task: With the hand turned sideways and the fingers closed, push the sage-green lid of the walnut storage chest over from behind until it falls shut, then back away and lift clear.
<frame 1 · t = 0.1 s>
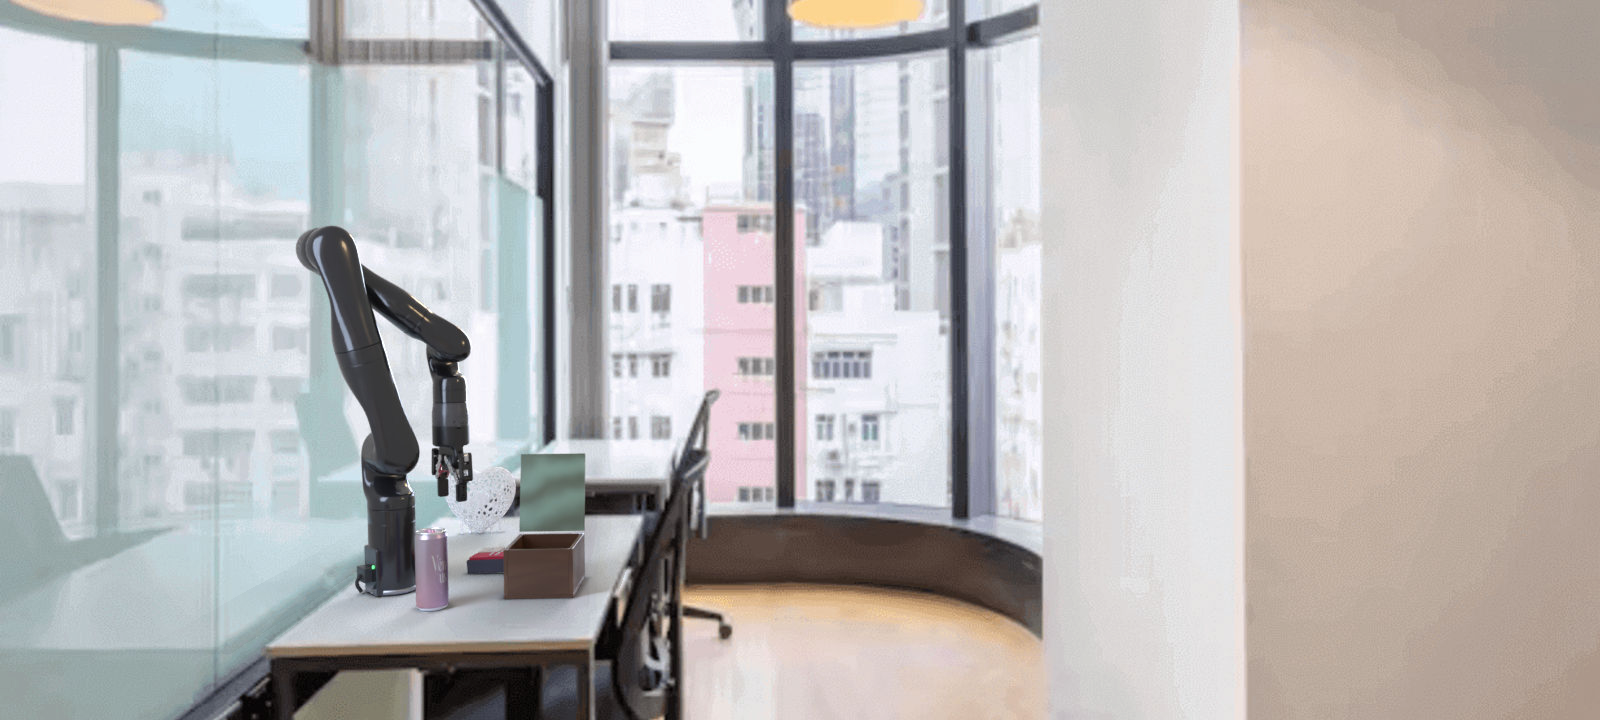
hand: (452, 498, 228), 17 cm above the table, tool pointing down, fingers open, 8 cm apart
decorative heart: (481, 533, 276), on the table
chest: (546, 588, 220), on the table
beverage can: (432, 608, 206), on the table
calculator: (508, 569, 237), on the table
lid: (552, 492, 229), point 18 cm above the table, hinge at 100.6°
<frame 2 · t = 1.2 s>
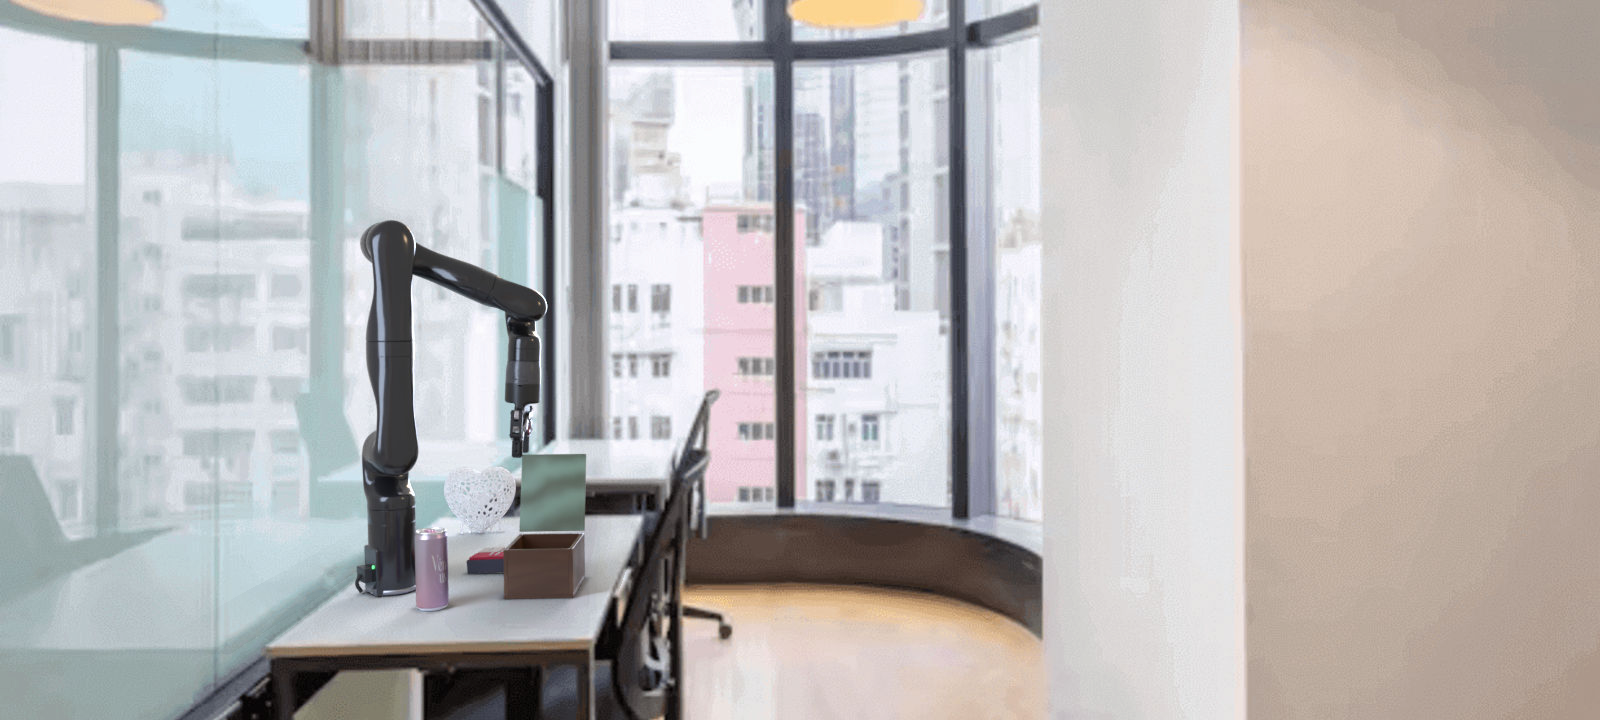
hand: (520, 455, 235), 26 cm above the table, tool pointing down, fingers open, 8 cm apart
lid: (553, 492, 229), point 18 cm above the table, hinge at 105.3°, touching gripper
everything else where it was.
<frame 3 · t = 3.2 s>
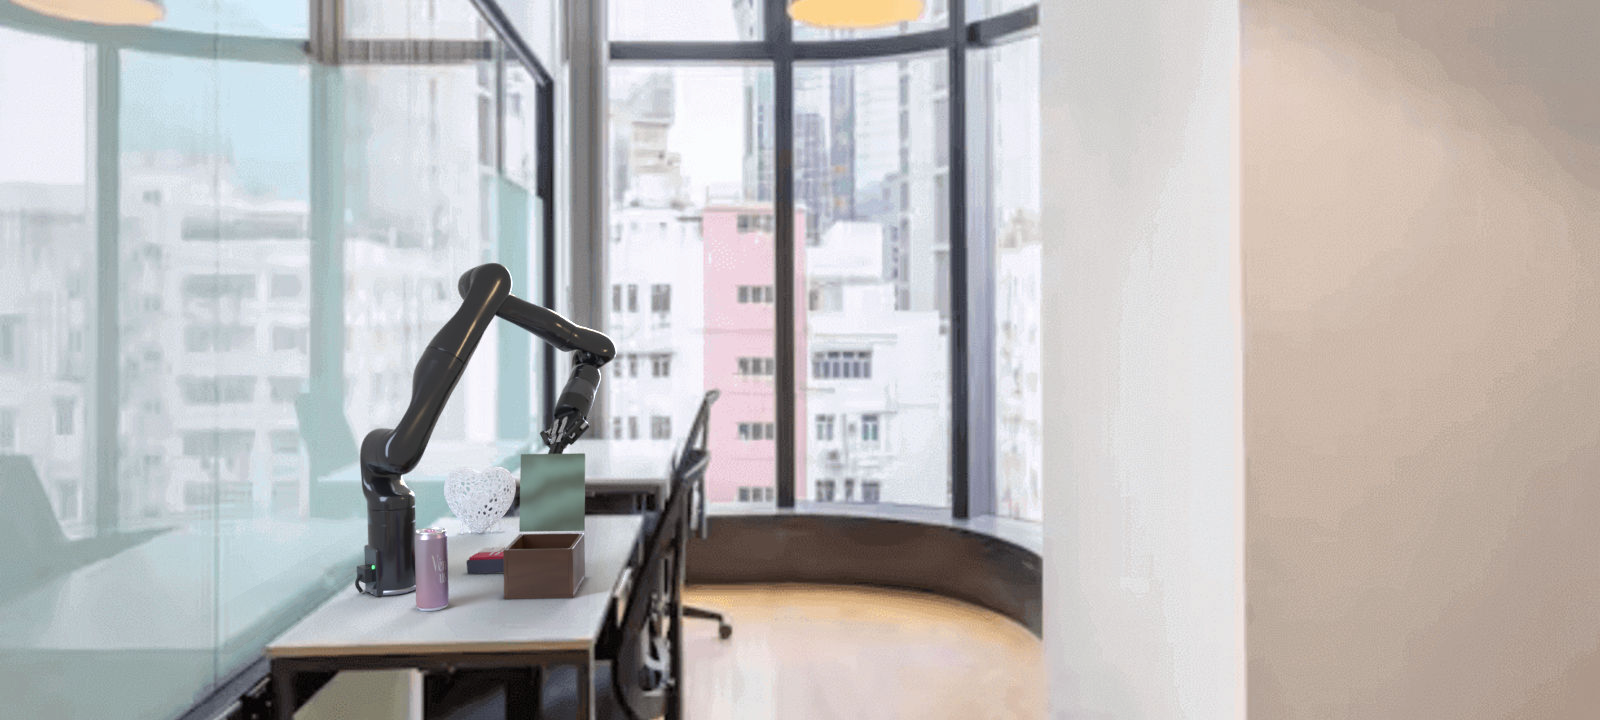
hand: (552, 459, 231), 25 cm above the table, tool tilted 50°, fingers closed
lid: (552, 492, 228), point 18 cm above the table, hinge at 99.9°
everything else where it was.
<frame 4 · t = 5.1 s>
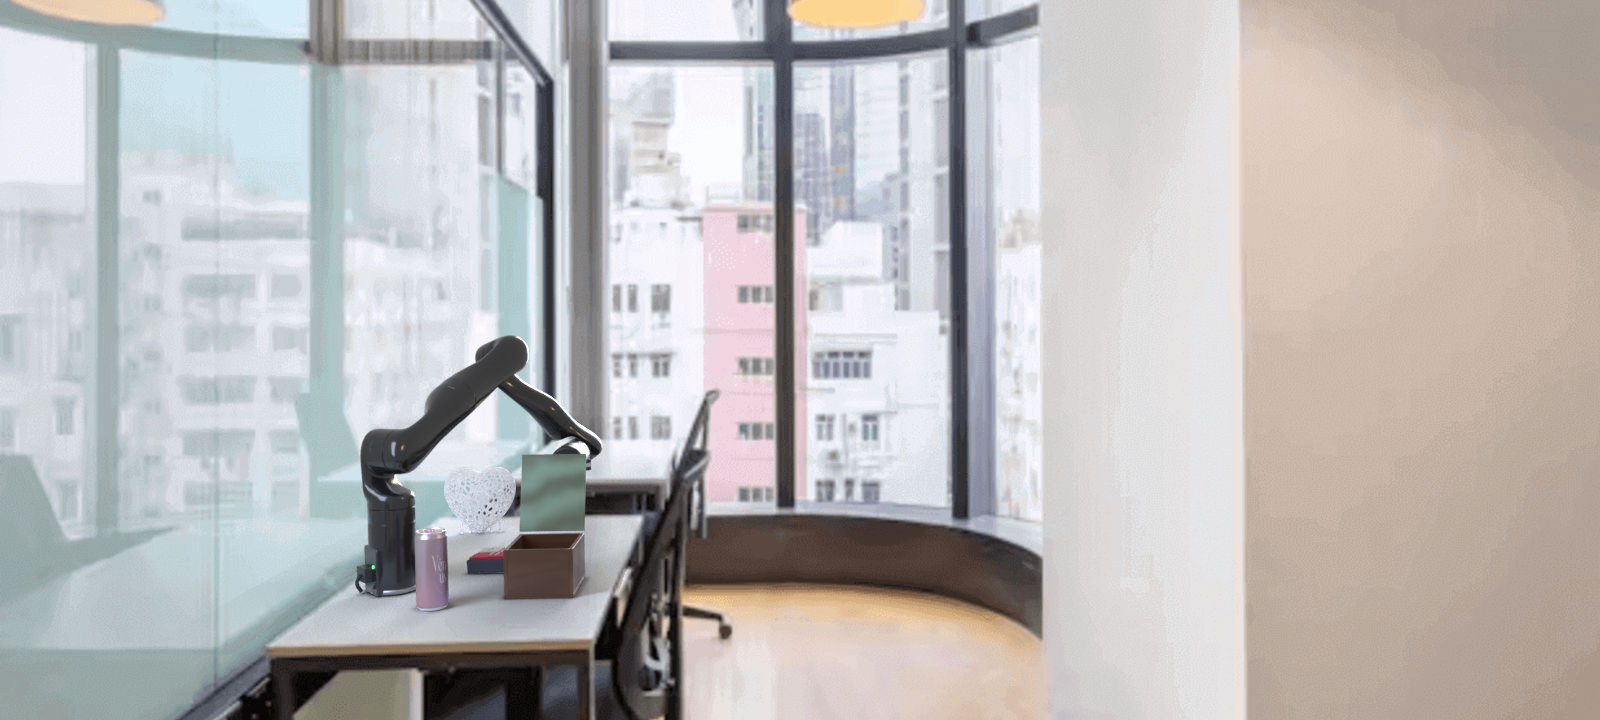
hand: (557, 470, 234), 22 cm above the table, tool horizontal, fingers closed
lid: (553, 492, 229), point 18 cm above the table, hinge at 105.1°
everything else where it was.
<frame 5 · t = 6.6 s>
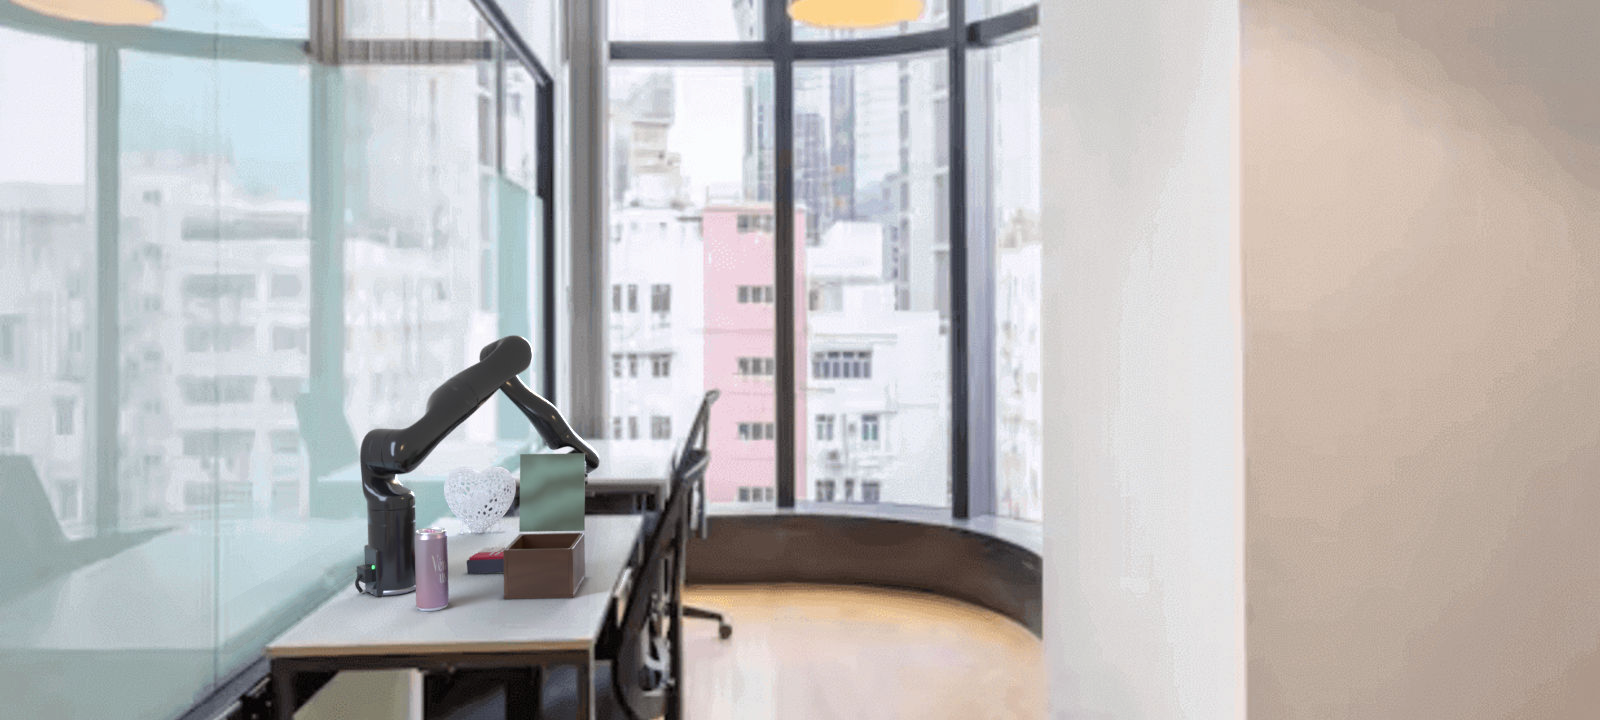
hand: (552, 485, 229), 20 cm above the table, tool horizontal, fingers closed
lid: (552, 492, 228), point 18 cm above the table, hinge at 98.1°, touching gripper
everything else where it was.
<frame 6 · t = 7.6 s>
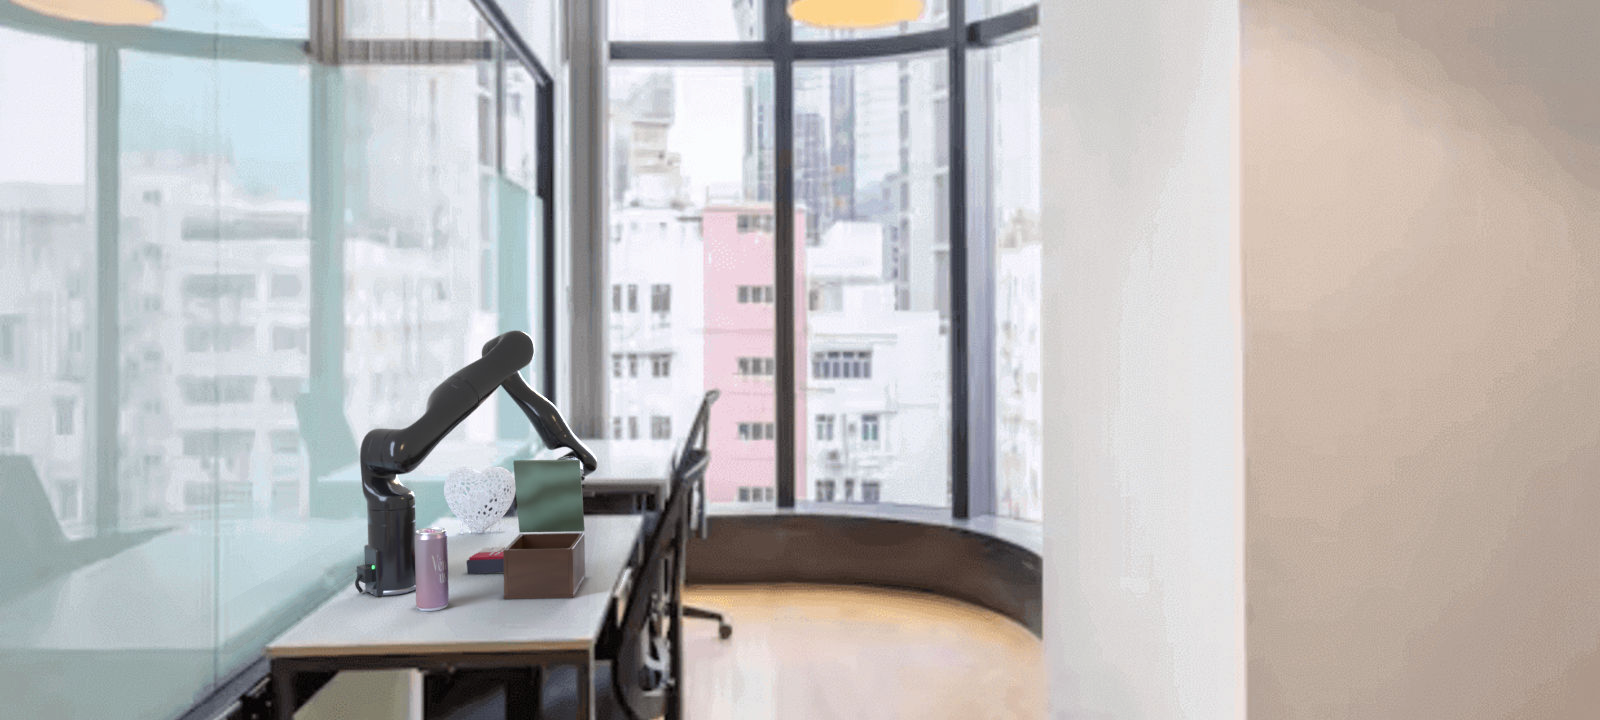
hand: (549, 488, 225), 20 cm above the table, tool horizontal, fingers closed
lid: (549, 496, 225), point 18 cm above the table, hinge at 73.6°
everything else where it was.
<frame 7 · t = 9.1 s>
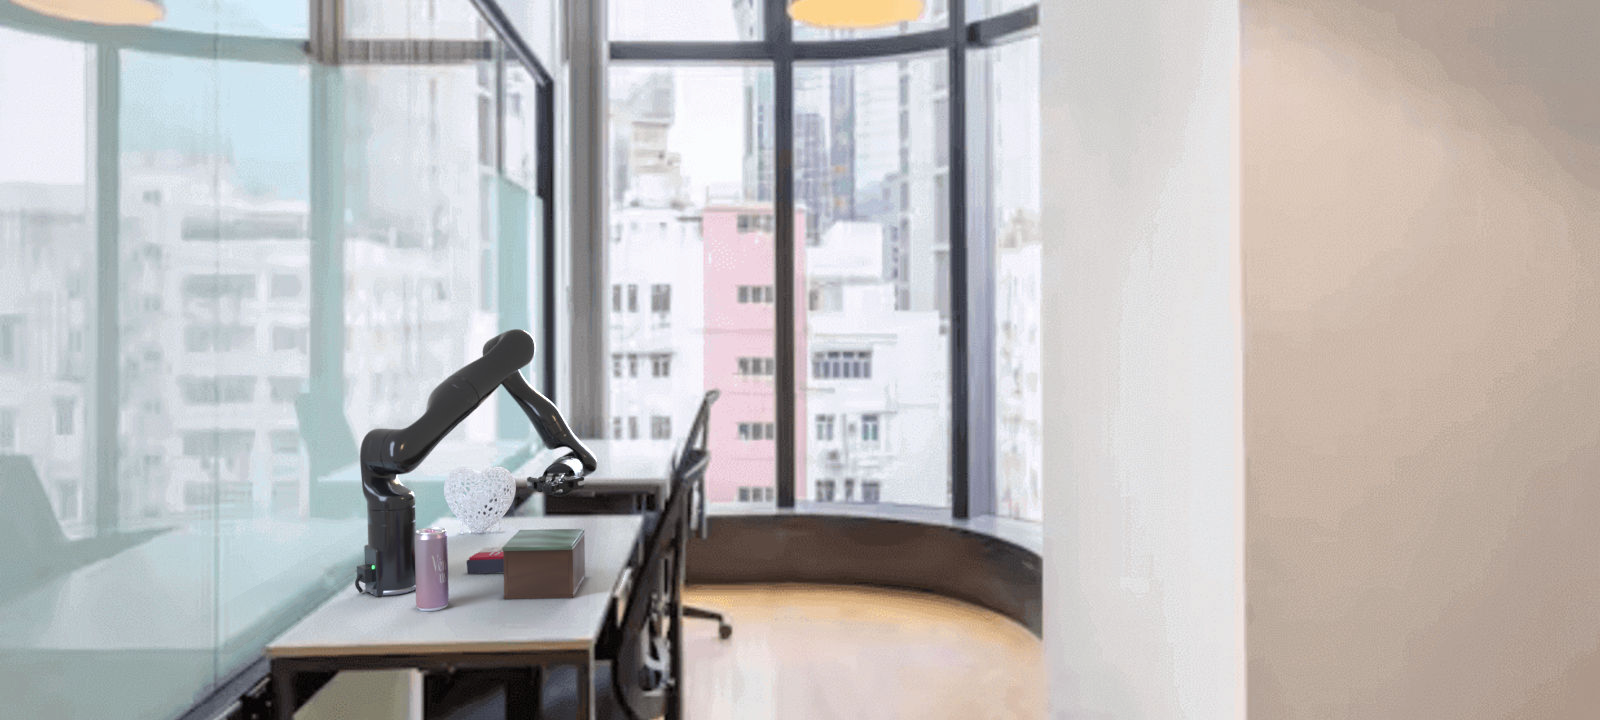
hand: (548, 489, 224), 20 cm above the table, tool horizontal, fingers closed
lid: (544, 539, 219), point 10 cm above the table, hinge at -0.1°
everything else where it was.
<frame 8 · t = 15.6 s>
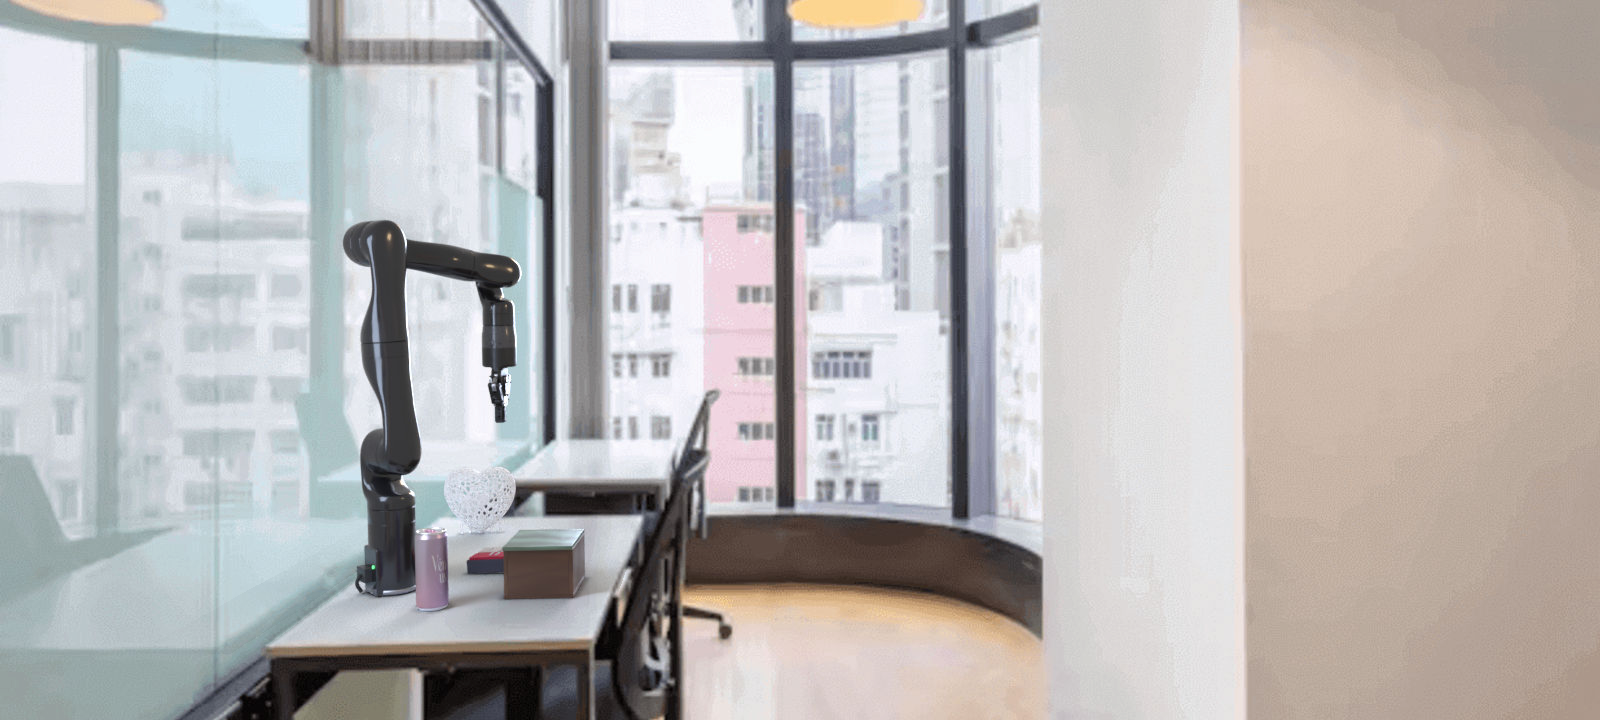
hand: (500, 422, 242), 32 cm above the table, tool pointing down, fingers closed
nothing on the table moved.
at the end: lid at +0° (first picture: +100°); calculator moved 0.2 cm from its start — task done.
